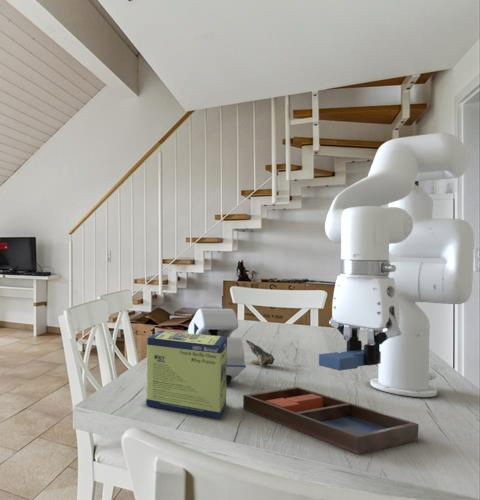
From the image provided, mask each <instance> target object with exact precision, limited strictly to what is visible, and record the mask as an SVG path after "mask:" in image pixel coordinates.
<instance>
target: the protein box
mask: <svg viewBox="0 0 480 500" xmlns="http://www.w3.org/2000/svg"><path fill="white" fill-rule="evenodd" d="M226 375H227V337H223V336H211V335H201V334H190V333H188V332H178V331H170V330H158V331H156V332H154V333H153V334H151V335H150V336H148V337H147V338H146V396H145V397H146V398H145V405H146V406H147V407H151V408H152V407H153V408H158V409H161V410H168V411H172V412H177V413H178V412H179V413H184V414H188V415H194V416H199V417H205V418H211V419H215V420H220V419H221V417H222V415H223V413H224V411H225V409H226V406H227V385H226Z"/></svg>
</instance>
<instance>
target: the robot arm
mask: <svg viewBox="0 0 480 500" xmlns="http://www.w3.org/2000/svg"><path fill="white" fill-rule="evenodd" d="M372 161H373V162H372V163H371V166H370V168H369V172H368V174H367V176H366V177H364V178H362V179H360V180H358V181H357V182H355V183H353V184H351V185H350V186H348V187H346V188H344V189H343V190H342V191H340V192H339V193H338V194H337V195H336V196H335V197H334V199H333V200H332V202H331V205H330V208H329V209H328V212H327V215H326V218H325V223H324V231H325V236H326V237H327V239H329V240H330V241H331V242H333V243H335V244H340V274H339V275H337V277H336V281H335V284H334V285H335V286H334V290H333V296H332V305H331V306H332V307H331V309H332V310H331V315H332V316H331V318H330V320H329V323H328V324H329V325H330V326H331V327H332V328H334V329H336V330H338V332H339V333H340V334H341V335H342V336H343V340H344V341H346V351H355V350H364V364H365V365H366V366H367V367H368V366H377V365H378V367H377V368H378V369H377V371H378V372H377V375H378V376H377V377H375V378H372V379H370V386H371V387H372V388H374V389H377V390H379V391H382V392H386V393H390V394H394V395H398V396H404V397H412V398H433V397H436V396H437V395H438V390H437V389H436V388H435V387H433V386H432V385H429V381H433V380H436V379H437V374H436V373H435V372H433V371H430V320H429V317H428V315H427V314H426V313H425V312H424V310H422V308H421V307H420V306H419V305H418V304H417V303H431V304H443V305H463V304H464V303H466V302H468V301H469V299H470V298H471V296H472V290H473V278H474V257H475V255H474V254H475V236H474V234H475V233H474V229H473V228H472V225H471V224H470V223H469V222H468V221H466V220H464V219H462V218H433V211H434V210H433V208H434V200H433V198H432V197H431V196H430V195H429V194H428V193H427V192H426V191H425V190H424V189H423V188H421V187H420V186H418V185H417V184H416V182H423V181H437V180H438V181H439V180H451V179H457V178H458V179H459V178H460V177H462V176H463V175H464V174H465V173H466V172H467V170H468V167H469V164H470V155H469V151H468V149H467V146H466V145H465V144H464V142H463V141H462V140H461V139H460V138H459V137H458V136H456V135H455V134H452V133H448V132H435V133H434V132H433V133H427V134H417V135H411V136H402V137H397V138H393V139H390V140H387V141H385V142H384V143H382V144H381V145H380V146H379V147H378V148H377V151H376V152H375V155H374V158H373V160H372ZM387 205H388V206H387ZM390 255H391V256H395V257H399V258H411V259H412V258H413V259H441V260H444V261H446V262H423V261H392V262H391V261H390ZM360 328H362V329H366V341H367V342H366V343H365V344H364V345H363V343H362V340H359V338H360ZM362 346H363V347H362ZM362 348H363V349H362ZM379 351H380V352H381V363H380V364H378V361H379Z"/></svg>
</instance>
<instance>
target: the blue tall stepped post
mask: <svg viewBox="0 0 480 500" xmlns="http://www.w3.org/2000/svg"><path fill="white" fill-rule="evenodd" d="M380 363H381V352H380V351H379V361H378V364H380ZM378 364H377V365H378ZM318 366H319V367H324V368H328V369H330V370H331V369H332V370H336V371H340V372H341V371H346V370H354V369H358V368H359V367H364V366H365V367H366V366H367V365H365V364H364V349H362V350H355V351H347V350H346V351H340V352H338V351H336V352H327V353H319V354H318Z"/></svg>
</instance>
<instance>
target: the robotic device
mask: <svg viewBox="0 0 480 500" xmlns="http://www.w3.org/2000/svg"><path fill="white" fill-rule="evenodd" d="M237 317H238V316H237V313H236V311H235V310H234V309H233V308H217V307H216V308H213V307H212V308H208V307H207V308H206V307H205V308H204V307H201V308H198V309H197V310H196V313H195V314H194V316H193V318H192V319H191V321H190V323H189V325H188V329H187V333H190V334H201V335H211V336H223V337H227V375H226V386H228V385H230V383H231V382H232V381H234V380H235V379H236V378H237V377H238V376H239V375H240V374H241V373H242V372H243V371H244V370H245V369H246V367H247V365H246V362H245V350H244V345H243V339H242V338H241V337H230V336H231V335H232V333H233V332H234V331H236V330H237V329H239V321H238V318H237Z"/></svg>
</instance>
